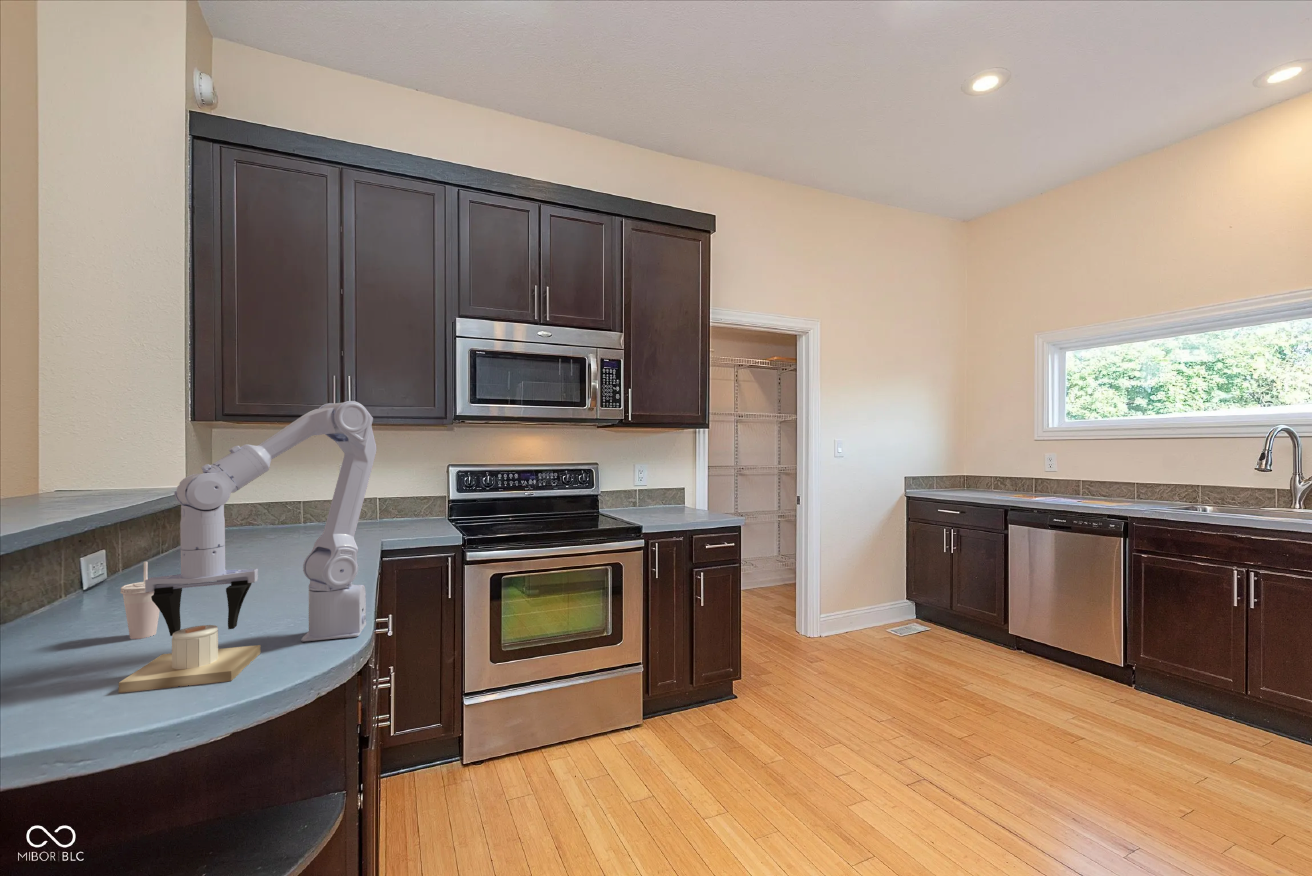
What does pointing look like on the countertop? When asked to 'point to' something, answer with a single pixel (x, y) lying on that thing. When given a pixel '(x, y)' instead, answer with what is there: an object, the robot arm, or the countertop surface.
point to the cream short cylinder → (194, 646)
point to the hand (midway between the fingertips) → (204, 630)
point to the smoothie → (140, 609)
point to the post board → (190, 671)
